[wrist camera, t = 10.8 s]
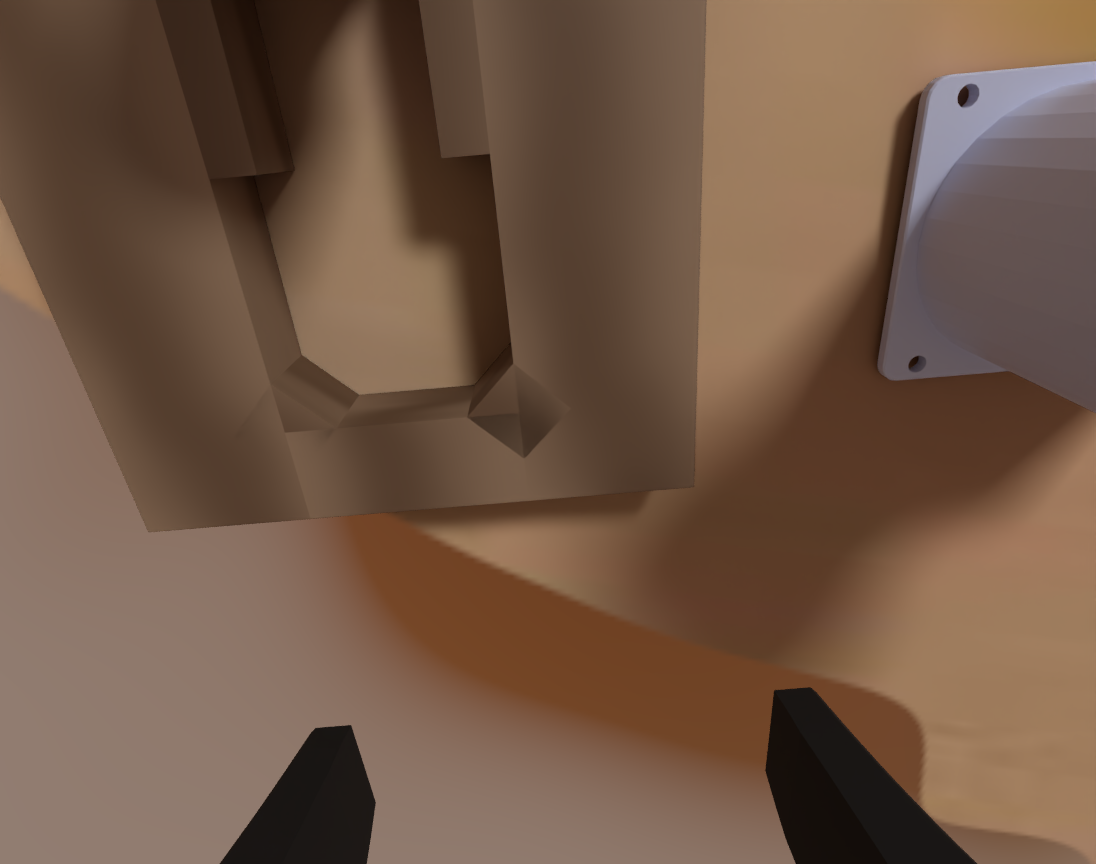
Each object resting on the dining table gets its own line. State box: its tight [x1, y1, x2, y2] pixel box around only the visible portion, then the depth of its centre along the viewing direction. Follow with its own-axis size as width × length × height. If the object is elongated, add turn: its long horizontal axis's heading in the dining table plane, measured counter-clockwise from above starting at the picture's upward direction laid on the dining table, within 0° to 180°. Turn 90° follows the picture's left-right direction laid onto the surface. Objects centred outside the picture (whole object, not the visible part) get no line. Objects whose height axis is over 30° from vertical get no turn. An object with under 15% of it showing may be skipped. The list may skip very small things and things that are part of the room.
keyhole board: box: [0, 0, 706, 532], centre depth 14 cm, size 16×22×2 cm
